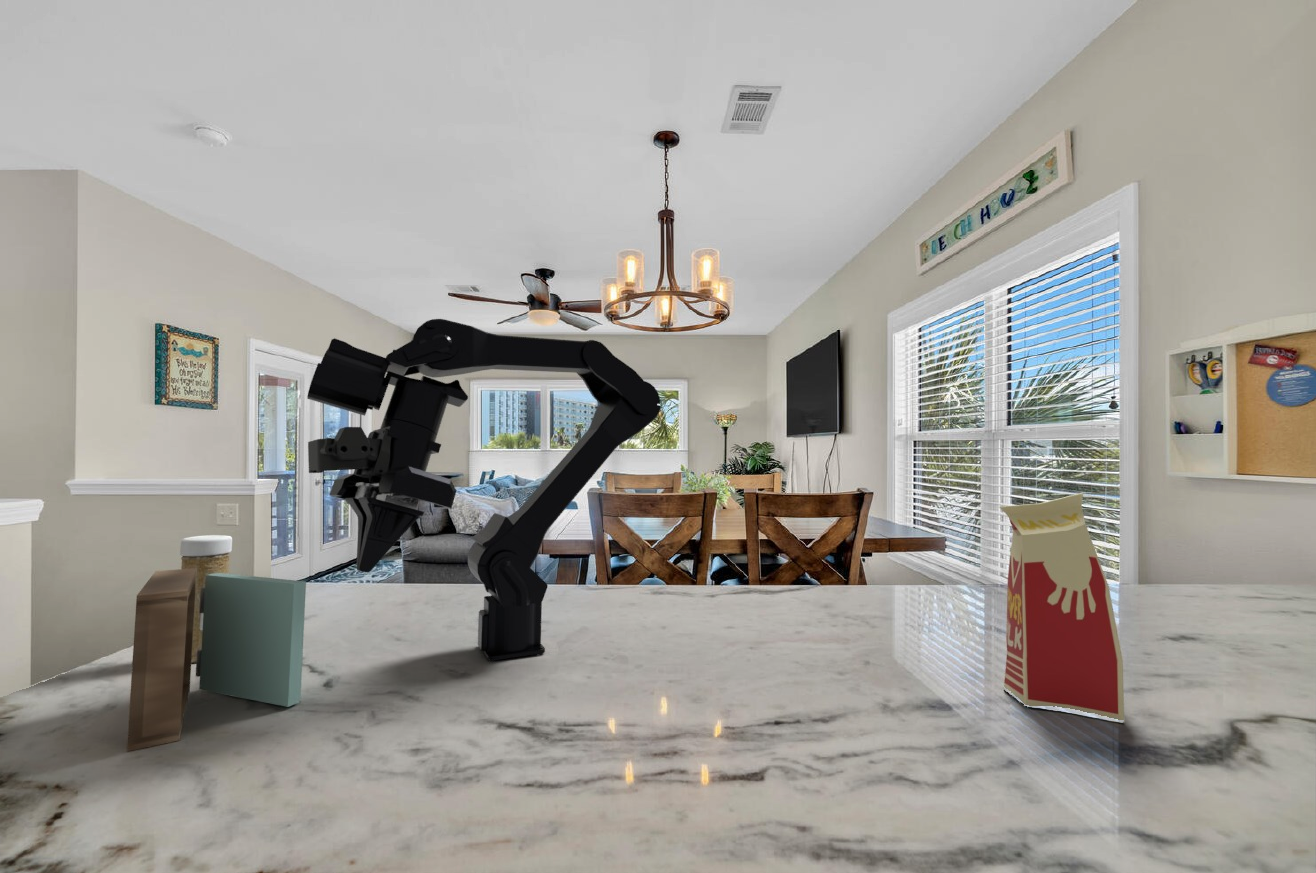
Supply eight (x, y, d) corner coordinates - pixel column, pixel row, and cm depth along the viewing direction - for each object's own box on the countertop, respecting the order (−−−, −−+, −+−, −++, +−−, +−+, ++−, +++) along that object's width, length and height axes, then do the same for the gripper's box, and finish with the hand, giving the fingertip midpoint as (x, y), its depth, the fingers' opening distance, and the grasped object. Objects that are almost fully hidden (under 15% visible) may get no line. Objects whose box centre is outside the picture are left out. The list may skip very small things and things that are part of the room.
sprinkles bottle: (224, 659, 62) (230, 537, 63) (170, 667, 59) (177, 540, 60) (227, 648, 66) (234, 533, 67) (177, 654, 63) (184, 535, 64)
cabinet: (189, 690, 53) (196, 568, 54) (178, 740, 44) (187, 590, 45) (147, 697, 52) (155, 571, 52) (126, 751, 42) (136, 595, 43)
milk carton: (1099, 688, 57) (1093, 491, 58) (1131, 726, 49) (1123, 495, 50) (995, 673, 61) (992, 489, 62) (1008, 706, 52) (1003, 492, 53)
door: (204, 683, 55) (211, 571, 55) (300, 701, 51) (306, 581, 51) (191, 687, 54) (197, 574, 54) (288, 706, 50) (294, 584, 50)
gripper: (306, 412, 63) (251, 550, 58) (366, 387, 50) (302, 562, 45) (402, 445, 70) (361, 570, 65) (476, 430, 57) (431, 584, 52)
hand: (362, 571), depth 57 cm, fingers closed
